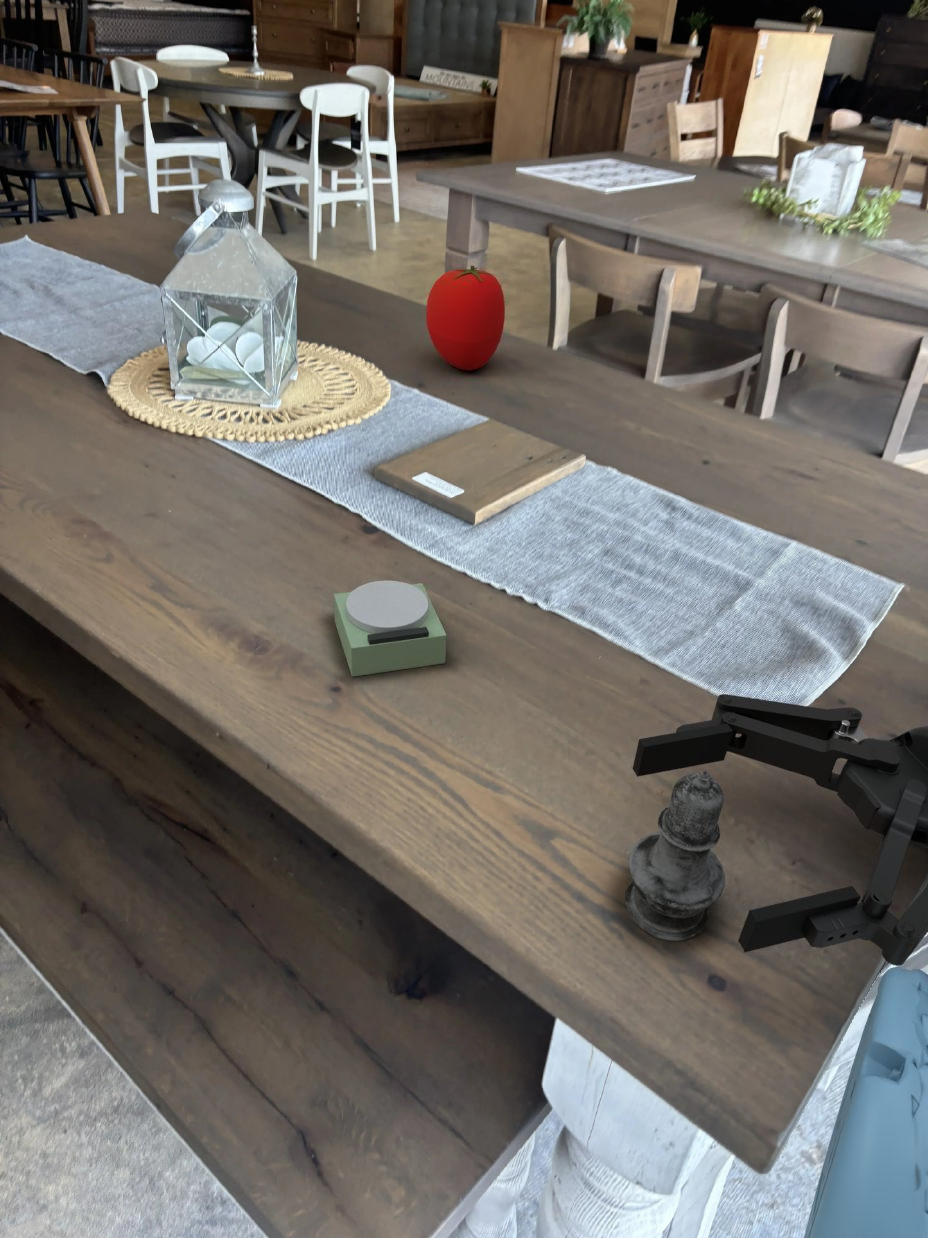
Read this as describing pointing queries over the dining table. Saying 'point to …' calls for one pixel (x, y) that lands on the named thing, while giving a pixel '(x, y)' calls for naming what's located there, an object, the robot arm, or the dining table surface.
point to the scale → (388, 628)
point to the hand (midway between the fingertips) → (686, 836)
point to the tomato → (466, 317)
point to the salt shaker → (679, 863)
